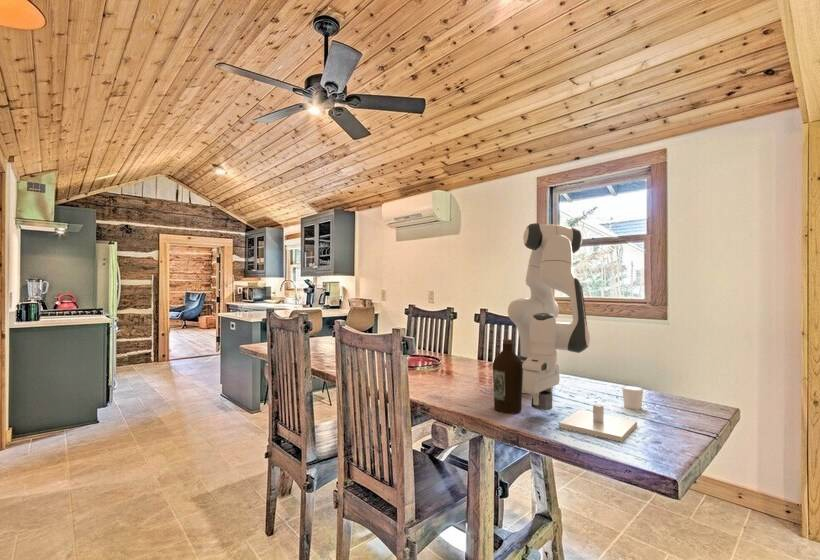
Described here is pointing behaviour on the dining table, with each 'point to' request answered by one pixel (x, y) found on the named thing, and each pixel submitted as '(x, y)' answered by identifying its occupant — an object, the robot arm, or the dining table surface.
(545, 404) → the steel collar
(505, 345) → the olive oil
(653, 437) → the dining table surface
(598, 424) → the post stand
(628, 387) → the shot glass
